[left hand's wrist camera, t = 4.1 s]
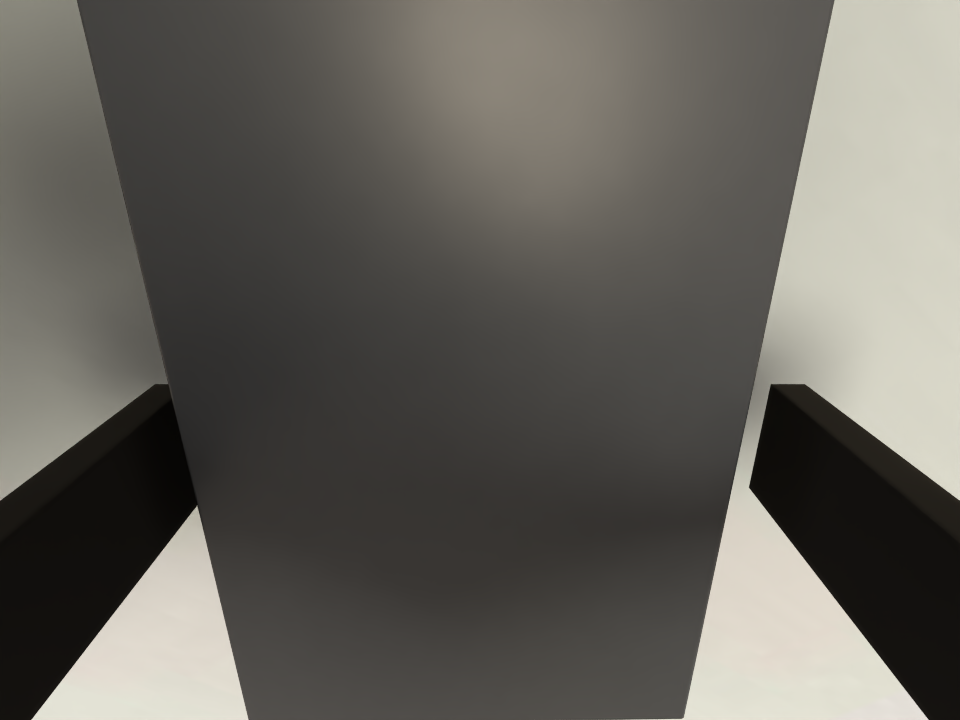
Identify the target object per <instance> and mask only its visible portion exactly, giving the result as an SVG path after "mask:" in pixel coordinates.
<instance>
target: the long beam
mask: <svg viewBox="0 0 960 720" xmlns="http://www.w3.org/2000/svg"><path fill="white" fill-rule="evenodd" d="M77 3H78V7H79V11H80V15H81V19H82V24H83V28H84V32H85V36H86V40H87V44H88V49H89V53H90V57H91V61H92V65H93V70H94V74H95V78H96V82H97V86H98V91H99V95H100V99H101V103H102V107H103V112H104V116H105V120H106V124H107V128H108V132H109V137H110V141H111V145H112V149H113V153H114V158H115V162H116V166H117V170H118V174H119V179H120V183H121V187H122V191H123V195H124V199H125V204H126V208H127V212H128V216H129V220H130V225H131V229H132V233H133V237H134V241H135V246H136V250H137V254H138V258H139V262H140V267H141V271H142V275H143V279H144V283H145V287H146V292H147V296H148V300H149V304H150V308H151V313H152V317H153V321H154V325H155V329H156V334H157V338H158V342H159V346H160V350H161V354H162V359H163V363H164V367H165V371H166V375H167V380H168V384H169V388H170V392H171V396H172V401H173V405H174V409H175V413H176V417H177V422H178V426H179V430H180V434H181V438H182V442H183V447H184V451H185V455H186V459H187V463H188V468H189V472H190V476H191V480H192V484H193V489H194V493H195V497H196V501H197V505H198V510H199V514H200V518H201V522H202V526H203V530H204V535H205V539H206V543H207V547H208V551H209V556H210V560H211V564H212V568H213V572H214V577H215V581H216V585H217V589H218V593H219V597H220V602H221V606H222V610H223V614H224V618H225V623H226V627H227V631H228V635H229V639H230V644H231V648H232V652H233V656H234V660H235V665H236V669H237V673H238V677H239V681H240V685H241V690H242V694H243V698H244V702H245V706H246V711H247V715H248V719H249V720H625V719H682V718H684V714H685V709H686V704H687V699H688V695H689V690H690V685H691V680H692V675H693V671H694V666H695V661H696V656H697V652H698V647H699V642H700V637H701V633H702V628H703V623H704V618H705V614H706V609H707V604H708V599H709V595H710V590H711V585H712V580H713V576H714V571H715V566H716V561H717V556H718V552H719V547H720V542H721V537H722V533H723V528H724V523H725V518H726V514H727V509H728V504H729V499H730V495H731V490H732V485H733V480H734V476H735V471H736V466H737V461H738V457H739V452H740V447H741V442H742V437H743V433H744V428H745V423H746V418H747V414H748V409H749V404H750V399H751V395H752V390H753V385H754V380H755V376H756V371H757V366H758V361H759V357H760V352H761V347H762V342H763V338H764V333H765V328H766V323H767V318H768V314H769V309H770V304H771V299H772V295H773V290H774V285H775V280H776V276H777V271H778V266H779V261H780V257H781V252H782V247H783V242H784V238H785V233H786V228H787V223H788V219H789V214H790V209H791V204H792V200H793V195H794V190H795V185H796V180H797V176H798V171H799V166H800V161H801V157H802V152H803V147H804V142H805V138H806V133H807V128H808V123H809V119H810V114H811V109H812V104H813V100H814V95H815V90H816V85H817V81H818V76H819V71H820V66H821V61H822V57H823V52H824V47H825V42H826V38H827V33H828V28H829V23H830V19H831V14H832V9H833V4H834V0H77Z"/></svg>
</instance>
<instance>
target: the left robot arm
mask: <svg viewBox="0 0 960 720" xmlns="http://www.w3.org/2000/svg"><path fill="white" fill-rule="evenodd" d="M749 488H750V489H751V491H752V492H753V493H754V495H755V496H756V497H757V498H758V500H759V501H760V502H761V504H762V505H763V506H764V508H765V509H766V510H767V511H768V513H769V514H770V515H771V517H772V518H773V519H774V520H775V522H776V523H777V524H778V526H779V527H780V528H781V529H782V531H783V532H784V533H785V535H786V536H787V537H788V539H789V540H790V541H791V542H792V544H793V545H794V546H795V548H796V549H797V550H798V551H799V553H800V554H801V555H802V557H803V558H804V559H805V561H806V562H807V563H808V564H809V566H810V567H811V568H812V570H813V571H814V572H815V573H816V575H817V576H818V577H819V579H820V580H821V581H822V582H823V584H824V585H825V586H826V588H827V589H828V590H829V592H830V593H831V594H832V595H833V597H834V598H835V599H836V601H837V602H838V603H839V604H840V606H841V607H842V608H843V610H844V611H845V612H846V614H847V615H848V616H849V617H850V619H851V620H852V621H853V623H854V624H855V625H856V626H857V628H858V629H859V630H860V632H861V633H862V634H863V635H864V637H865V638H866V639H867V641H868V642H869V643H870V645H871V646H872V647H873V648H874V650H875V651H876V652H877V654H878V655H879V656H880V657H881V659H882V660H883V661H884V663H885V664H886V665H887V666H888V668H889V669H890V670H891V672H892V673H893V674H894V676H895V677H896V678H897V679H898V681H899V682H900V683H901V685H902V686H903V687H904V688H905V690H906V691H907V692H908V694H909V695H910V696H911V698H912V699H913V700H914V701H915V703H916V704H917V705H918V707H919V708H920V709H921V710H922V712H923V713H924V714H925V716H926V717H927V718H928V719H929V720H960V500H958V499H957V498H955V497H954V496H953V495H951V494H950V493H949V492H947V491H946V490H945V489H943V488H942V487H941V486H939V485H938V484H937V483H935V482H934V481H933V480H931V479H930V478H929V477H927V476H926V475H925V474H923V473H922V472H921V471H919V470H918V469H917V468H915V467H914V466H913V465H911V464H910V463H909V462H907V461H906V460H905V459H903V458H902V457H901V456H899V455H898V454H897V453H895V452H894V451H893V450H891V449H890V448H889V447H888V446H886V445H885V444H884V443H882V442H881V441H880V440H878V439H877V438H876V437H874V436H873V435H872V434H870V433H869V432H868V431H866V430H865V429H864V428H862V427H861V426H860V425H858V424H857V423H856V422H854V421H853V420H852V419H850V418H849V417H848V416H846V415H845V414H844V413H842V412H841V411H840V410H838V409H837V408H836V407H834V406H833V405H832V404H830V403H829V402H828V401H826V400H825V399H824V398H822V397H821V396H820V395H818V394H817V393H816V392H814V391H813V390H812V389H810V388H809V387H808V386H806V385H805V384H771V386H770V391H769V396H768V400H767V405H766V410H765V415H764V419H763V424H762V429H761V433H760V438H759V443H758V448H757V452H756V457H755V462H754V466H753V471H752V476H751V481H750V485H749ZM196 506H197V501H196V497H195V493H194V489H193V484H192V480H191V476H190V472H189V468H188V463H187V459H186V455H185V451H184V447H183V442H182V438H181V434H180V430H179V426H178V422H177V417H176V413H175V409H174V405H173V401H172V396H171V392H170V388H169V384H155V385H154V386H152V387H151V388H150V389H148V390H147V391H146V392H144V393H143V394H142V395H140V396H139V397H138V398H136V399H135V400H134V401H132V402H131V403H130V404H128V405H127V406H126V407H124V408H123V409H122V410H120V411H119V412H118V413H116V414H115V415H114V416H112V417H111V418H110V419H108V420H107V421H106V422H104V423H103V424H102V425H100V426H99V427H98V428H96V429H95V430H94V431H92V432H91V433H90V434H88V435H87V436H86V437H84V438H83V439H82V440H80V441H79V442H78V443H76V444H75V445H74V446H72V447H71V448H70V449H68V450H67V451H66V452H65V453H63V454H62V455H61V456H59V457H58V458H57V459H55V460H54V461H53V462H51V463H50V464H49V465H47V466H46V467H45V468H43V469H42V470H41V471H39V472H38V473H37V474H35V475H34V476H33V477H31V478H30V479H29V480H27V481H26V482H25V483H23V484H22V485H21V486H19V487H18V488H17V489H15V490H14V491H13V492H11V493H10V494H9V495H7V496H6V497H5V498H3V499H2V500H1V501H0V720H31V719H32V718H33V717H34V716H35V714H36V713H37V712H38V710H39V709H40V708H41V707H42V705H43V704H44V703H45V701H46V700H47V699H48V698H49V696H50V695H51V694H52V692H53V691H54V690H55V688H56V687H57V686H58V685H59V683H60V682H61V681H62V679H63V678H64V677H65V676H66V674H67V673H68V672H69V670H70V669H71V668H72V666H73V665H74V664H75V663H76V661H77V660H78V659H79V657H80V656H81V655H82V654H83V652H84V651H85V650H86V648H87V647H88V646H89V645H90V643H91V642H92V641H93V639H94V638H95V637H96V635H97V634H98V633H99V632H100V630H101V629H102V628H103V626H104V625H105V624H106V623H107V621H108V620H109V619H110V617H111V616H112V615H113V614H114V612H115V611H116V610H117V608H118V607H119V606H120V604H121V603H122V602H123V601H124V599H125V598H126V597H127V595H128V594H129V593H130V592H131V590H132V589H133V588H134V586H135V585H136V584H137V582H138V581H139V580H140V579H141V577H142V576H143V575H144V573H145V572H146V571H147V570H148V568H149V567H150V566H151V564H152V563H153V562H154V561H155V559H156V558H157V557H158V555H159V554H160V553H161V551H162V550H163V549H164V548H165V546H166V545H167V544H168V542H169V541H170V540H171V539H172V537H173V536H174V535H175V533H176V532H177V531H178V529H179V528H180V527H181V526H182V524H183V523H184V522H185V520H186V519H187V518H188V517H189V515H190V514H191V513H192V511H193V510H194V509H195V508H196Z"/></svg>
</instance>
